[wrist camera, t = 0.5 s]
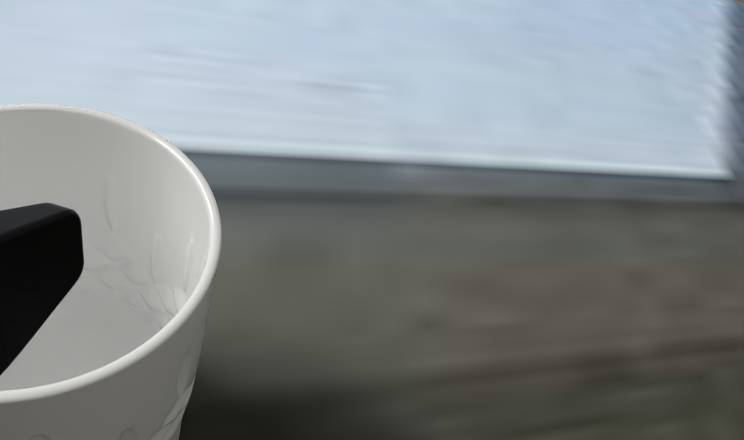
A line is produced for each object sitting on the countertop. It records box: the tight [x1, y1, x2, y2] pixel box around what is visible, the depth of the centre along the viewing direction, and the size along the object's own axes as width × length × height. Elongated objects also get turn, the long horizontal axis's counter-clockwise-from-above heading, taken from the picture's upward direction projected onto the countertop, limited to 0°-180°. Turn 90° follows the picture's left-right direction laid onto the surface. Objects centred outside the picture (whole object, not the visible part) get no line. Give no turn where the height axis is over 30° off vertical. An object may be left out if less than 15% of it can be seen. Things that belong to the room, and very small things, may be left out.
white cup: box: [0, 104, 222, 440], centre depth 17 cm, size 8×8×10 cm
